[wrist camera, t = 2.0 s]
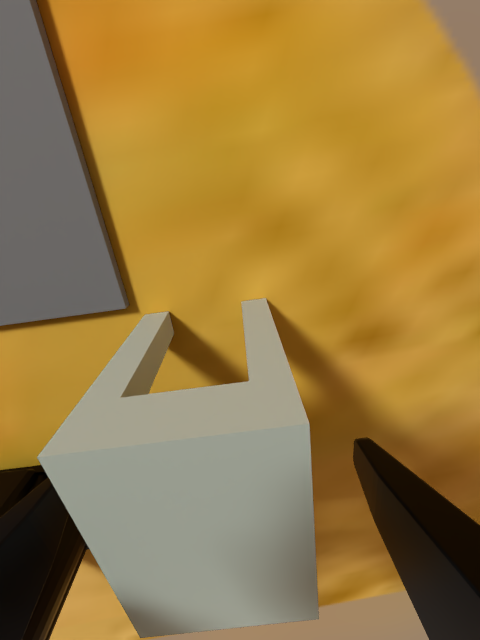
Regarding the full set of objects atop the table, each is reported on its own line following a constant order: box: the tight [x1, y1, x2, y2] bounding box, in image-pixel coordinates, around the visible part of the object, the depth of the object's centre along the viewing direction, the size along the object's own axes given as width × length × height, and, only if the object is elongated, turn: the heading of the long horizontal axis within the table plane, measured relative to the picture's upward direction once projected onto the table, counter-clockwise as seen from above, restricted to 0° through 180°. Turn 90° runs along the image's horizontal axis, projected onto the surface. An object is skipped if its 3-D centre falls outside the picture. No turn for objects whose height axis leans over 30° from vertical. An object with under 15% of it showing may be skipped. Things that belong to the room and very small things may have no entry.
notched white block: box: [37, 298, 319, 638], centre depth 10 cm, size 7×5×7 cm
